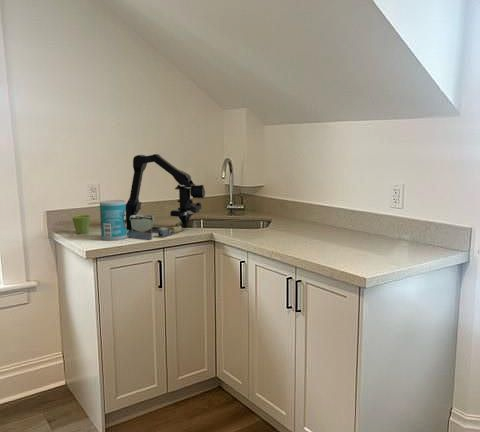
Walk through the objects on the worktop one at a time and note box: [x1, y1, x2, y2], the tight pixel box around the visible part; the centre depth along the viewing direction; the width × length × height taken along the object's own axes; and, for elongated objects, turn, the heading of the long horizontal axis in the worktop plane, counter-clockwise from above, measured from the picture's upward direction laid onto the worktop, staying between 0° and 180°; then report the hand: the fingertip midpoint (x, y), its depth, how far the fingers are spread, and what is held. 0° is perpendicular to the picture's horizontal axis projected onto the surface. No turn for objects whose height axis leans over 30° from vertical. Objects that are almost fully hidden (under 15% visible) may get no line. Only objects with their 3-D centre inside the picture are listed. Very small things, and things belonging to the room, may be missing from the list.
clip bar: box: [171, 224, 182, 233], centre depth 248 cm, size 2×6×4 cm, turn 151°
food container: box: [129, 214, 155, 236], centre depth 242 cm, size 12×6×10 cm, turn 84°
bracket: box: [127, 225, 170, 241], centre depth 241 cm, size 15×16×3 cm
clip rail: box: [157, 227, 184, 239], centre depth 243 cm, size 3×18×4 cm, turn 152°
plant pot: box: [71, 214, 91, 235], centre depth 248 cm, size 9×9×9 cm
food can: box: [99, 199, 128, 242], centre depth 234 cm, size 12×12×18 cm
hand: (185, 227), depth 255 cm, fingers closed
